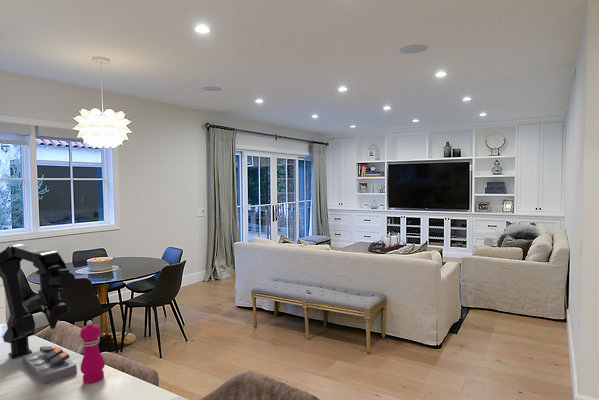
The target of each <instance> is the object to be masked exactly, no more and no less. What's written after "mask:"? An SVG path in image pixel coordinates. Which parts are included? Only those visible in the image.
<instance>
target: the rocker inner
mask: <svg viewBox="0 0 599 400" xmlns="http://www.w3.org/2000/svg"><path fill="white" fill-rule="evenodd" d="M56 348H58V347H57V346H56V345H52V346H51V345H48V346H47V345H46V346H40V347H39V351H41V352H42V353H49V352H51V351H53V350H54V349H56Z"/></svg>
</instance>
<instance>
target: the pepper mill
mask: <svg viewBox="0 0 599 400" xmlns="http://www.w3.org/2000/svg"><path fill="white" fill-rule="evenodd" d="M93 323H94V322H93V320H88V321H86V325H84V326H83V327H82V328H81V329H80V331H79V332H80V333H79V336H80V339H81V340H82V346H83V349H84V354H83V357H82V360H81V363H80V372H81V373H82V374H83V375H82V382H83V383H85V384H93V383H97V382H99V381H101V380H102V379H103V378H104V377H105V374H104V372H105V371H104V368H105V365H106V364H105V359H104V357H103V355H102V354H101V352H100V349H99V343H100V337H99V336H100V335H101V328H100V327H99V325H97V324H96V323H94V324H93Z"/></svg>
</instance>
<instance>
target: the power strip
mask: <svg viewBox="0 0 599 400" xmlns="http://www.w3.org/2000/svg"><path fill="white" fill-rule="evenodd" d="M45 354H47V353H42V352H41V351H40V350H37V351H34V352H32V353H31V354H27V355H24V356H21V358H22V360H21V361H22V365H23V366H24V367H25V368H26V369H27V370H28V371H29V372H30V373H32V375H33V376H34V377H36V378H37V379H38V380H39V382H40V383H41V384H42V385H43V386H45V385H48V384H51V383H53V382H56V381H58V380H61V379H64V378H68V377H70V376H72V375H75V374H77V373H78V369H77V368H78V367H77V364H76V363H75V362H74V361H72V360H71V359H70V358H68V359H66V360H65V362H64V363H63V364H60V363H59V364H58V365H56V366H54V365H53V364H52V363H51V362H50V361H48V360H47V359H46V358H45V357H44V355H45Z"/></svg>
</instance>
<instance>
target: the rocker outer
mask: <svg viewBox="0 0 599 400" xmlns="http://www.w3.org/2000/svg"><path fill="white" fill-rule="evenodd" d="M70 358H71V357H70V354H69V353H67V352H66V351H63V353H61V354H59V355H58V356H56V357H54V358H52V359H50V362H51V363H52V364H53V365H54V366H56V365H58V364H59V363H60V364H63V363H64V362H65V360H66V359H70Z"/></svg>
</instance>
